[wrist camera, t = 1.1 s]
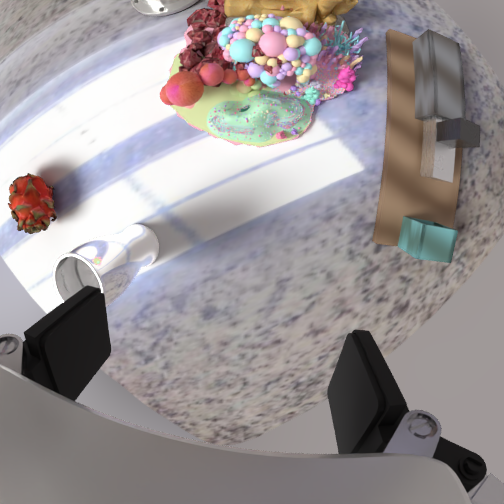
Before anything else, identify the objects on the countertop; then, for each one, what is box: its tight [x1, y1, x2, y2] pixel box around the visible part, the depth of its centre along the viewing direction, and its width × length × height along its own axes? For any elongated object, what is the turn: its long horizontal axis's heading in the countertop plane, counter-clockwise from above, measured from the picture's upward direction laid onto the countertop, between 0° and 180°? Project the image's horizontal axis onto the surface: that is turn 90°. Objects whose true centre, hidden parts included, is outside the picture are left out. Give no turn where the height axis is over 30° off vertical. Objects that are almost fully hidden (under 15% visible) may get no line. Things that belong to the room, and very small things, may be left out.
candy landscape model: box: [160, 0, 369, 147], centre depth 25 cm, size 25×24×9 cm
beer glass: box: [53, 224, 159, 307], centre depth 30 cm, size 7×7×15 cm
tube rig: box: [372, 29, 465, 263], centre depth 27 cm, size 30×12×7 cm, turn 175°
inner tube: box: [420, 115, 480, 183], centre depth 23 cm, size 19×3×8 cm, turn 175°
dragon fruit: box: [8, 173, 57, 234], centre depth 33 cm, size 8×8×12 cm
